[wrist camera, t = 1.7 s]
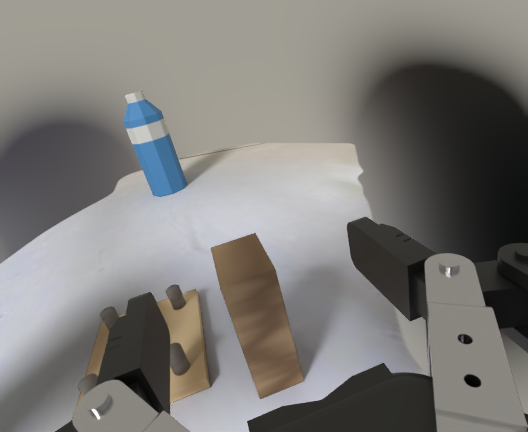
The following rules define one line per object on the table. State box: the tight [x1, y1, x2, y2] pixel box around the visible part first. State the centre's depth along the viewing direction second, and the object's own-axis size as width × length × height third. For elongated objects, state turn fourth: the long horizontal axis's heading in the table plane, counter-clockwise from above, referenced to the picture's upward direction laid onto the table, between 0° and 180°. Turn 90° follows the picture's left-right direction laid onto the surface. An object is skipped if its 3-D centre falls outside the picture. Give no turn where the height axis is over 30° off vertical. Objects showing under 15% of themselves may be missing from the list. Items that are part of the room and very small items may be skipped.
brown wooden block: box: [211, 233, 304, 399], centre depth 27 cm, size 4×6×12 cm, turn 15°
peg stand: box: [76, 285, 210, 407], centre depth 34 cm, size 12×14×4 cm
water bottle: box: [123, 91, 187, 197], centre depth 81 cm, size 9×9×25 cm
